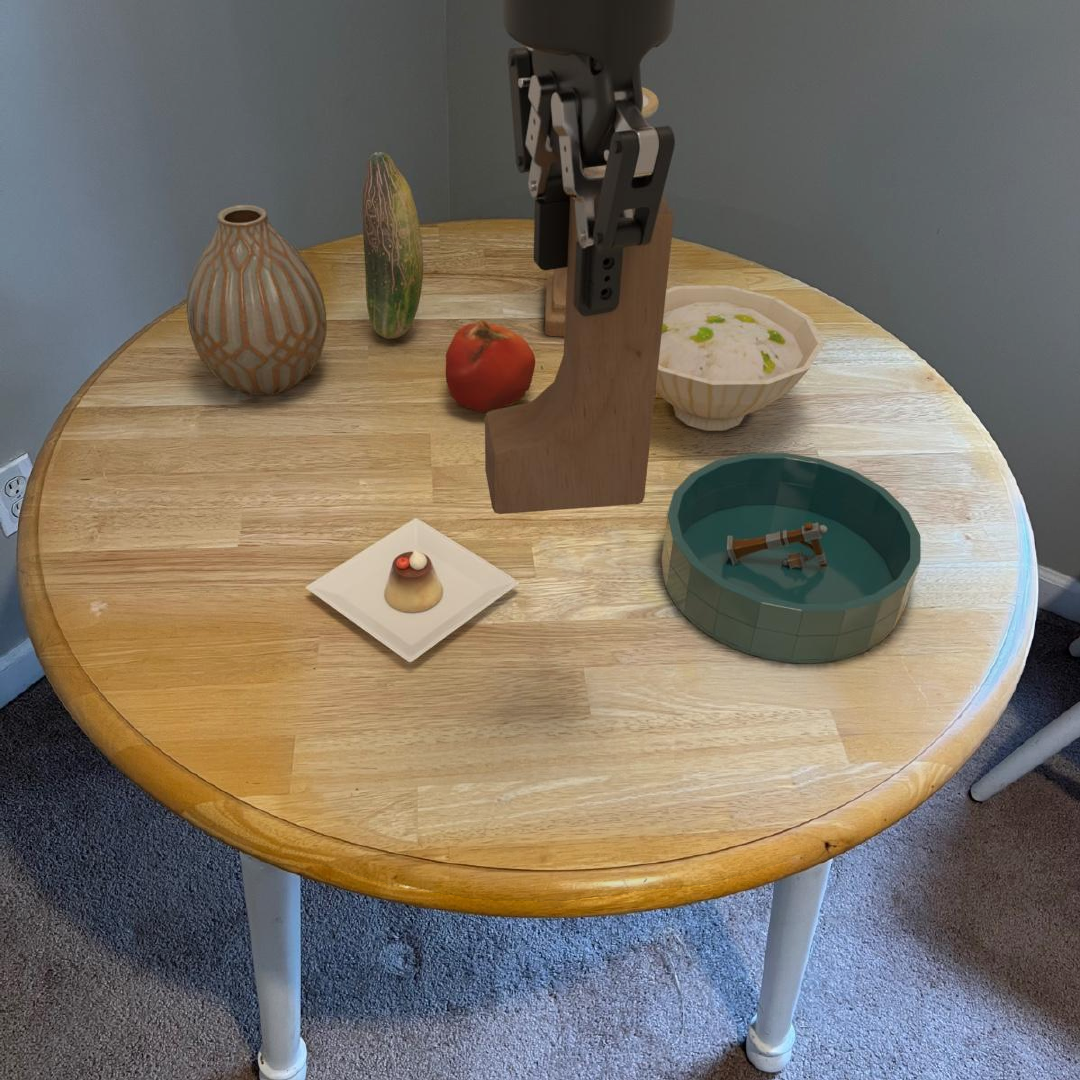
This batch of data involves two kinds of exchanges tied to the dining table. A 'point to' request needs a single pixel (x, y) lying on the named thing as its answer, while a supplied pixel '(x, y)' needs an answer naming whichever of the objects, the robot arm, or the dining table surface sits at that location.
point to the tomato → (488, 366)
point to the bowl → (730, 353)
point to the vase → (255, 306)
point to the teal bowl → (763, 581)
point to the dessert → (412, 588)
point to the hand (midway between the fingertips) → (574, 286)
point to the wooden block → (589, 397)
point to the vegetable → (390, 248)
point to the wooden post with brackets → (778, 540)
